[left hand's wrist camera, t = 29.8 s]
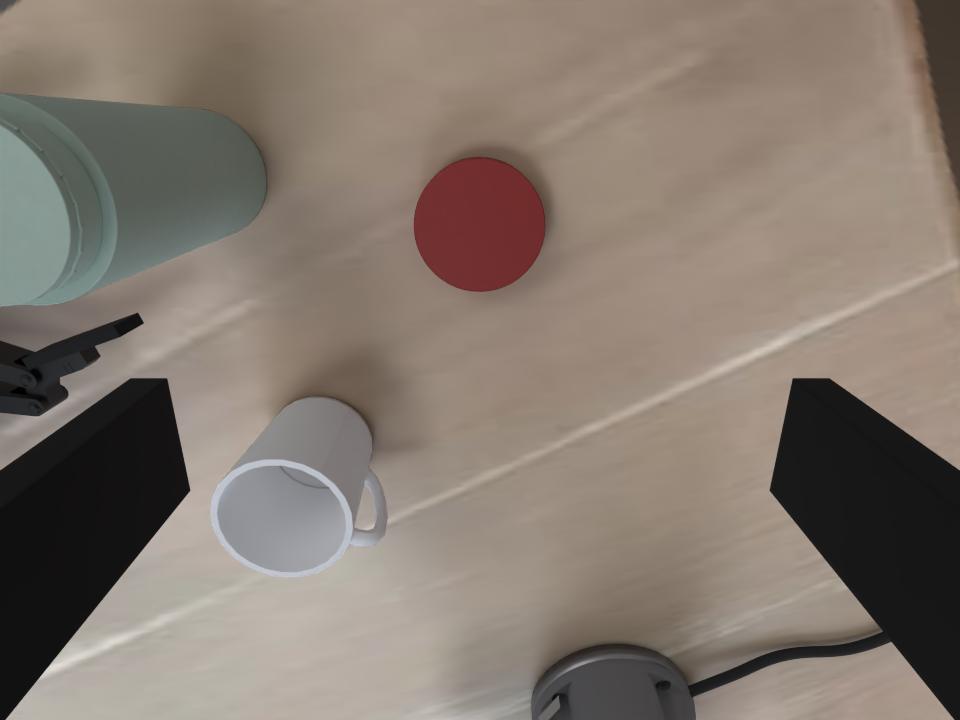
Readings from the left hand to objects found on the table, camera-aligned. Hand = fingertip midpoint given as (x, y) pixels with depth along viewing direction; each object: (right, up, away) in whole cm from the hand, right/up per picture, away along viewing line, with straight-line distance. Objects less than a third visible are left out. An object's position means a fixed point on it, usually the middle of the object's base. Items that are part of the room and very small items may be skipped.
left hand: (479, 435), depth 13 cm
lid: (0, +10, +26) cm, 28 cm away
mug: (-12, -5, +34) cm, 37 cm away
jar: (-18, +14, +27) cm, 36 cm away
